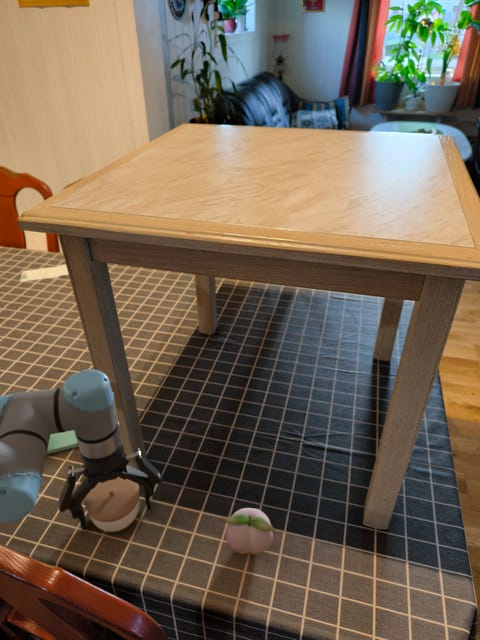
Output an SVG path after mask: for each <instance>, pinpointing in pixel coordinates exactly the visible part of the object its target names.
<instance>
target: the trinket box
mask: <svg viewBox="0 0 480 640" xmlns="http://www.w3.org/2000/svg"><path fill="white" fill-rule="evenodd" d="M140 493H141V492H140V486H139V484H137V483H135V482H133V481H130V480H128V479H126V480H124V479H122V478H119V477H117V479H114V480H108V481H106V482H103V483H101V482H99V483H98V484H97V485H96V487H95V488H94V489H91V491H90V492H89V493H88V495H87V496H86V497H85V498H84V506H85V509H86V510H85V511H86V512H87V514H88V517H89V519H90V521H91V522H92V524H93V525H94V526H95V527H96V528H98V529H100V530H101V531H103V532H108V533H115V532H120V531H123V530H124V529H126V528H127V527H129V526H130V525H131V524H132V523H133V522H134V521H135V519H136V518H137V516H138V513H139V511H140V506H141V496H140V495H141V494H140Z"/></svg>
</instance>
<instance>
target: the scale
mask: <svg viewBox="0 0 480 640" xmlns="http://www.w3.org/2000/svg"><path fill="white" fill-rule="evenodd" d="M74 448H79V446H78V442H77V439H76V435H75V431H74V430H72V431H66V432H62V433H56V434H51V435H50V440H49V445H48V450H47V454H46V456H48V455H51V454H54V453H58V452H63V451H66V450H71V449H74Z"/></svg>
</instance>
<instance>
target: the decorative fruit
mask: <svg viewBox="0 0 480 640" xmlns="http://www.w3.org/2000/svg"><path fill="white" fill-rule="evenodd" d="M224 522H225V523H227V526H226V530H225V539H226V543H227V545H228V546H229V547H230V549H232V550H233V552H236V553H239V554H241V555H248V554H250V555H255V556H256V555H259V554H262V553H264V552H266V551H267V550H269V548H270V547H271V545H272V543H273V539H274V533H273V532H275V529H274V527H273V525H272V523H271V521H270V518H269V517H268V516H267V514H266V513H264V511H262V510H260V509H258V508H253V507H243V508H240V509H238V510H237V511H235V512H234V513H233V514H232V515H230V516H229V517H228V518H227V519H225V521H224Z"/></svg>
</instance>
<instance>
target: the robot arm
mask: <svg viewBox="0 0 480 640" xmlns="http://www.w3.org/2000/svg"><path fill="white" fill-rule="evenodd" d="M118 418H119V417H118V413H117V407H116V401H115V393H114V392H113V388H112V386H111V381H110V378H109V377H108V375H107V374H106V373H104V372H103V371H101V370H98V369H93V368H89V369H82V370H80V372H77V373H76V372H74V373H72V374H71V375H69V377H67V379H65V381H64V383H63V386H61V387H56V388H47V389H39V390H38V389H37V390H30V391H18V392H14V393H9V394H3V395H0V524H8V523H14V522H17V521H19V520H22V519H24V518H26V517H27V516H28V515H29V514H30V513H32V512H33V510H34V508H35V506H36V503H37V500H38V496H39V494H40V489H41V487H42V484H43V476H44V475H43V474H44V469H45V464H46V463H45V462H46V457H47V455H48V454H47V450H48V445H49V440H50V435H51V434H56V433H62V432H66V431H72V430H74V431H75V435H76V439H77V442H78V446H79V447H78V449H79V452H80V456H81V460H82V464H83V465H82V467H77V468H75V466H73V465H69V466H68V467H67V478H66V480H65V483H64V486H63V487H62V491H61V492H60V493H61V494H60V497H59V499H58V510H59V512H60V513H65V512H66V511H70V513H71V515H72V519H73V520H79V524H80V527H81V529H82V531H86V530H87V529H88V528H87V517H86V514H85V511H84V507H83V504H82V502H83V501H85V497H86V496H87V495H88V493H89V492H90V491H91V489H94V488H95V487H96V485H97V484H98V483H99V482H101V483H103V482H106V481H108V480H114V479H117V477H119V478H122V479H124V480H126V479H128V480H130V481H133V482H135V483H137V484H138V486H139V485H140V486H142V488H143V493H144V499H145V504H146V508H147V509H146V510H147V511H151V510H152V506H151V500H150V497H153V496H155V487H154V486H155V485H156V484H157V485H160V484H161V483H162V482H163V480H162V477H161V473H160V471H159V469H157V468H156V467H155V466H154V465H153V464H152V463H151V461H149V460H148V459H147V458H146V457H145V456H144V455H143V454H142V451H141V448H138V447H137V448H135V449H134V450H133V453H130V454H127V453H125V448H124V444H123V441H122V440H123V439H122V435H121V429H120V423H119V419H118ZM46 454H47V455H46ZM129 463H132V464H134V466H137V467H138V468H139V469H138V468H135V467H133V466H131V465H130V464H129ZM81 476H83V477H84V479H83V480H82V481H81V483H80V484H79V485H78V487H77V488H76V484H77V483H78V482H79V480H80V478H81ZM75 488H76V489H75Z"/></svg>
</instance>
